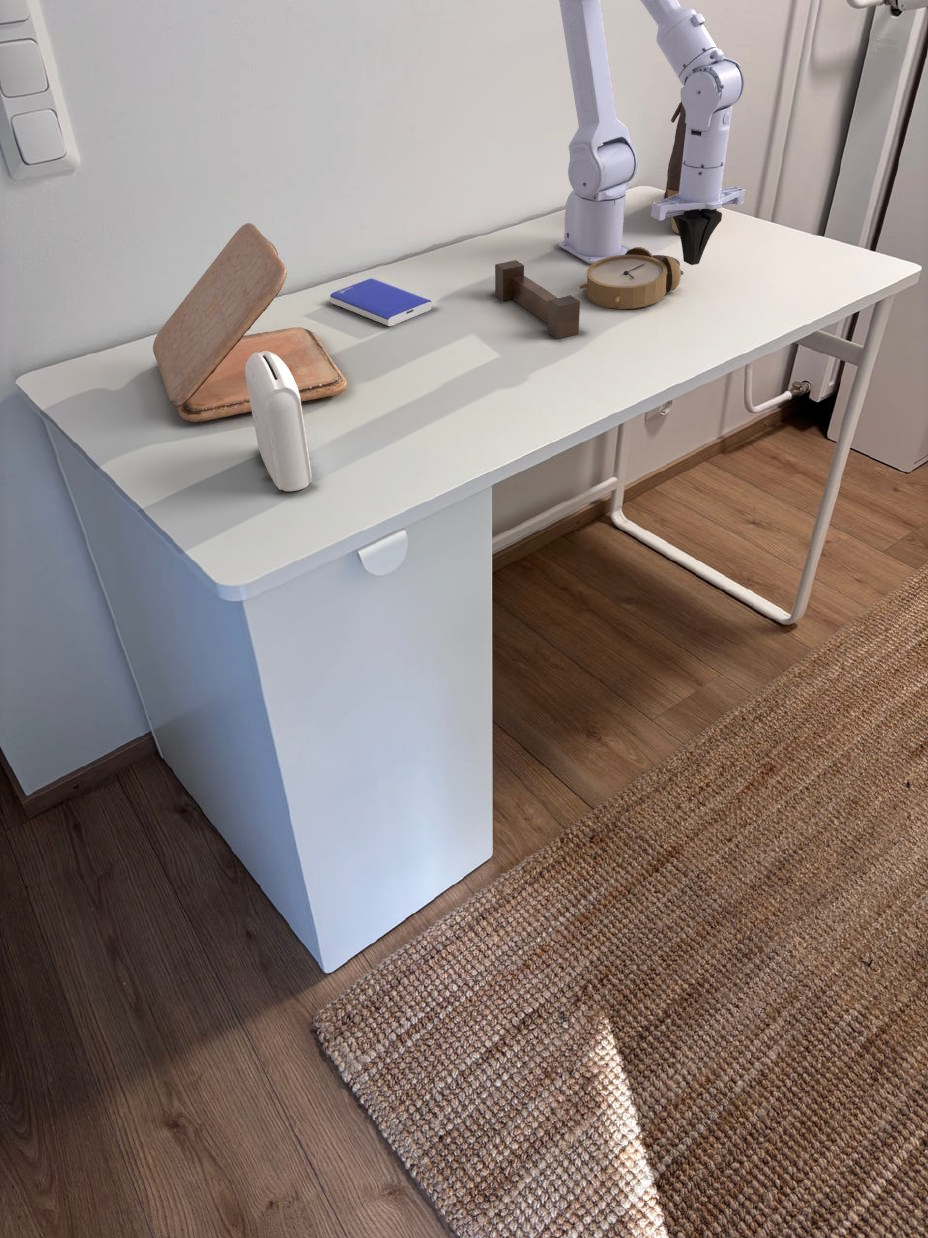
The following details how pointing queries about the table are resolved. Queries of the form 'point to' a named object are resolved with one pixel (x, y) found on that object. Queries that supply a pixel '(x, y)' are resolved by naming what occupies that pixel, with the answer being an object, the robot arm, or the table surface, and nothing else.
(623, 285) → the alarm clock
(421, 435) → the table surface
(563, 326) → the dumbbell
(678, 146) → the boot
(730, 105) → the robot arm
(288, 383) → the photo printer
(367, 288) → the hard drive
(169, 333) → the case
